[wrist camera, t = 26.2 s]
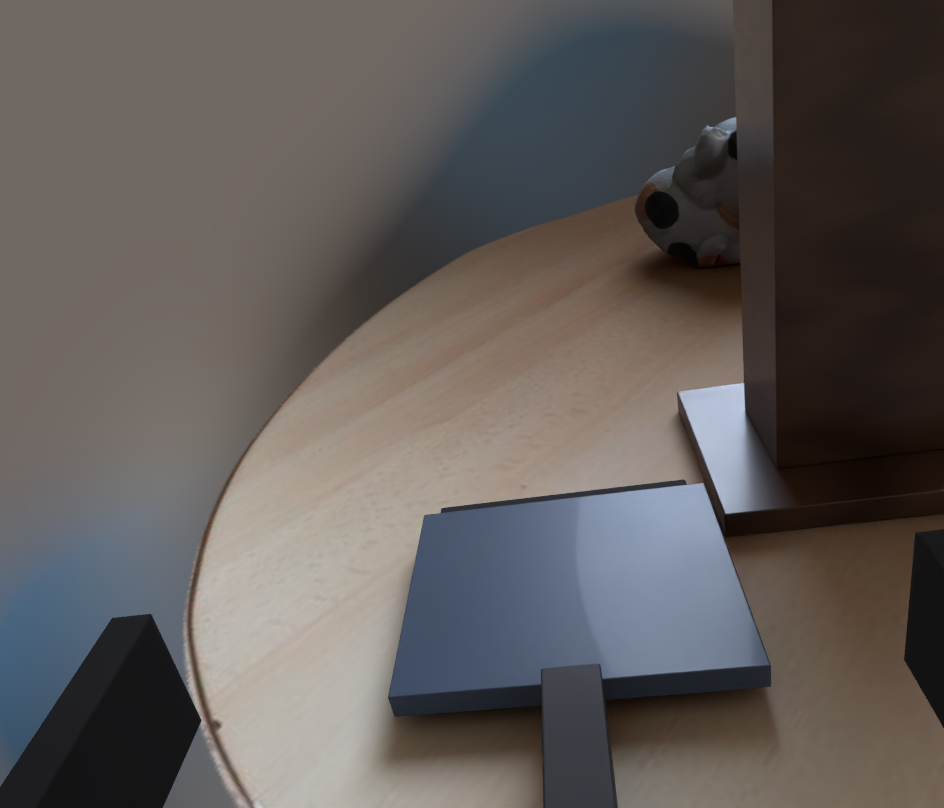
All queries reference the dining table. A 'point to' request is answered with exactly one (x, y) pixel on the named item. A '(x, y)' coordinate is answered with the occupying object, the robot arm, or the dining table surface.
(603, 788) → the lid
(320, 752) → the dining table surface
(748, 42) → the box on pedestal
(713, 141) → the lucky cat figurine
